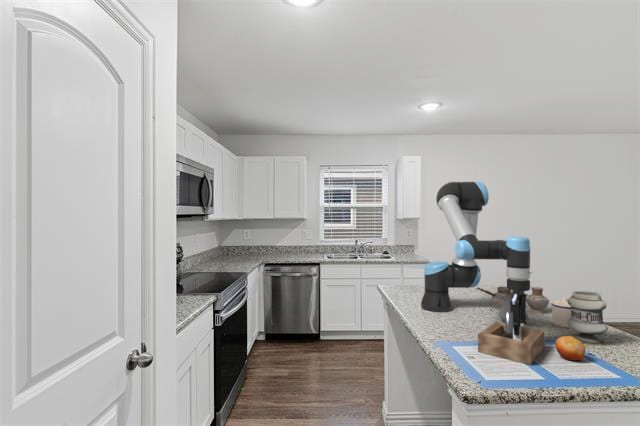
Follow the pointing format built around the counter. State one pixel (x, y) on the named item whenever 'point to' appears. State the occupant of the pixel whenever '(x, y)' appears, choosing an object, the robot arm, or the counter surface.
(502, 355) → the walnut box
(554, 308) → the teacup with lid
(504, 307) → the coffee pot
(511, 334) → the metal post
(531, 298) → the pottery
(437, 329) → the counter surface
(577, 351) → the fruit
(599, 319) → the apothecary jar
